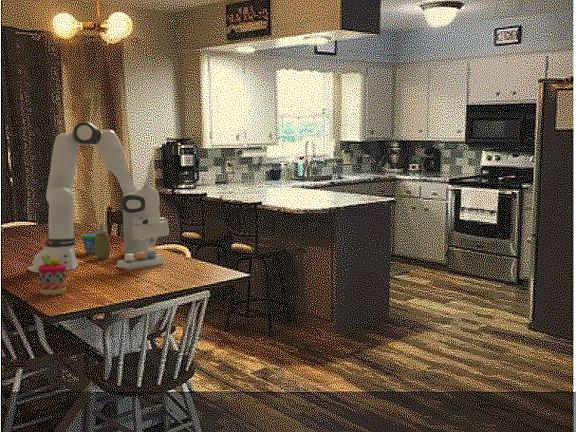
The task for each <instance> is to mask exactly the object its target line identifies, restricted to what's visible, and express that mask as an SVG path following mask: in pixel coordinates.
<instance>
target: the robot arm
mask: <svg viewBox="0 0 576 432" xmlns="http://www.w3.org/2000/svg"><path fill="white" fill-rule="evenodd" d="M89 145H94V146H96V148H97V150H98V151H99V153H100V157H101V159H102V162H103V163H104V166H105V167H106V168H107V170H108V171H110V172H111V173H112V174H114V175H115V177H116V179H117V181H118V183H119V185H120V186H119V187H120V188H121V190H122V194H123V197H122V199H121V203H120V204H121V205H120V206H121V207H122V211H123V210H124V211H126V212H128V213H136V212H140V211H141V213H142V215H141V216H140V217H138V218H136V219H134V220H133V224H135V225H133V229H132V237H133V239H134V240H143V239H146V241H147V243H148V248H154V247H156V242H157V240H158V238H161V237H168V236H169V234H170V227H169V220H168V218H167V217H161V214H160V212H161V211H160V193H159V190H158V189H157V188H156V187H154V186H151V185H150V186H149V185H143V186H141V188H139V189H137V188H136V186H135V184H134V181H133V179H132V177H131V174H130V171H129V167H128V161H127V160H128V159H127V155H126V153H125V149H124V146H123V145H122V143H121V141H120V138H119V137H118V135H117V134H116V132H115V131H114V130H113V129H104V130H100V129H99V128H98V127H97V126H96V125H95V124H94V123H92V122H90V121H86V120H84V121H79V122H78V123H77V124H75V125H74V127H73V130H72V132H69V133H68V132H62V133H60V134H59V133H58V134H57V135H56V137H55V140H54V143H53V148H52V152H51V162H50V170H49V171H50V172H49V175H48V180H47V185H46V186H47V187H46V193H45V199H46V202H47V203H48V223H47V224H48V238H47V239H41V241H40V242H41V244H43V245H45V246H44V247H43V248H42V249H41V250H40V251H39V252H38V253H37V254H35V255H34V257H33V261H32V262H33V263H32V265H31V266H28V271H30V272H32V273H38V274H39V267H40V266H41V265H44V264H45V263H44V262H43V259H42V256H45V258H46V255H49V256H50V261H51V260H52V259H53V258H58V259H59V263H60V264H64V265H65V266H66V270H65V271H69V270H74V269H76V268H77V267H78V266H79V263H78V260H77V257H76V250H75V247H76V246H75V245H76V241H75V237H74V209H75V203H74V202H75V199H74V193H73V191H72V189H73V183H74V179H75V175H76V170H77V169H76V168H77V167H76V166H77V159H78V152H79V148H80V147H81V146H89Z"/></svg>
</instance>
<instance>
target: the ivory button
mask: <svg viewBox="0 0 576 432" xmlns="http://www.w3.org/2000/svg"><path fill="white" fill-rule="evenodd" d="M134 258H135V256H134V254H124V260H125V261H127V262H131V261H134Z"/></svg>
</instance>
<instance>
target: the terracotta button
mask: <svg viewBox="0 0 576 432" xmlns="http://www.w3.org/2000/svg"><path fill="white" fill-rule="evenodd" d="M145 256H146V255H145V252H136V256H135V258H136V259H138V260H142V259H145Z"/></svg>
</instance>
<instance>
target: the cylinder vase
mask: <svg viewBox="0 0 576 432" xmlns="http://www.w3.org/2000/svg"><path fill="white" fill-rule="evenodd" d="M141 215H142V213H141V211H140V212H136V213H128V212H126V211H124V210H123V209H122V219H123V220H122V222H123V223H122V224H123V254H124V255H125V254H134V257H136V252H145V256H147V250H149V247H148V243H147V241H146V239H143V240H134V239H133V237H132V229H133V225H135V224H133V220H134V219H136V218H138V217H140V216H141Z"/></svg>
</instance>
